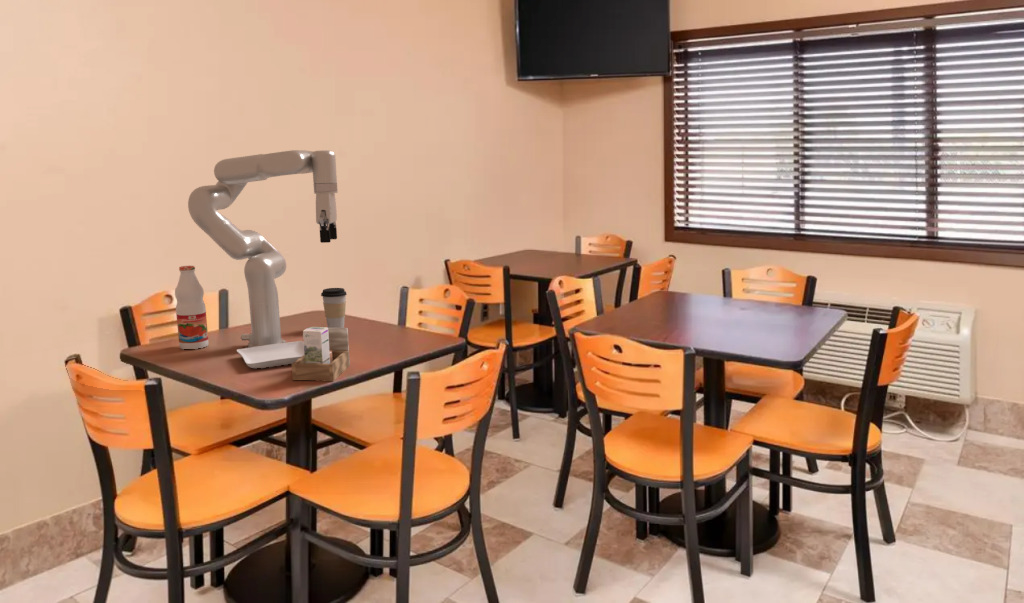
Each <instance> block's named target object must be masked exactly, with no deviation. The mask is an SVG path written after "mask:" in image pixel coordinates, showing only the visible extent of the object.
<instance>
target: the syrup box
mask: <svg viewBox="0 0 1024 603" xmlns="http://www.w3.org/2000/svg"><path fill="white" fill-rule="evenodd" d="M302 338H303V341H302V342H303V343H304V356H305V363H316V364H330V352H329V333H328V326H326V327H325V326H324V327H323V326H322V327H321V326H309V327H307V328H305V329H304V330H302Z"/></svg>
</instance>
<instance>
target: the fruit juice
mask: <svg viewBox="0 0 1024 603" xmlns="http://www.w3.org/2000/svg"><path fill="white" fill-rule="evenodd" d="M178 270H179V273H180V275H179V278H178V282H177V285H176V286H175V289H174V296H175V299H176V305H175V315H176V325H177V326H176V327H177V335H178V347H179V348H180V350H184V349H195V350H199V349H198V348H201V349H204V348H203V347H205V348H207V347H208V346H209V341H210V340H209V333H208V331H209V330H208V320H207V310H206V308H207V307H206V304H205V302H204V294H205V293H204V292H205V291H204V288H203V286H202V285H201V283H200V282H199V280H198V278H197V275H196V273H195V271H196V266H195V265H181V266H179V268H178ZM206 346H207V347H206Z"/></svg>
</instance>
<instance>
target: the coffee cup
mask: <svg viewBox="0 0 1024 603" xmlns="http://www.w3.org/2000/svg"><path fill="white" fill-rule="evenodd" d="M320 296H321V297H322V300H323V302H322V303H323V309H324V316H325V320H326V325H327V326H326V327H328V328H345V316H346V303H347V302H346V296H347V291H346V290H345V288H342V287H329V288H324V289H323V290H322V292H321V293H320Z"/></svg>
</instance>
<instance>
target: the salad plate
mask: <svg viewBox="0 0 1024 603" xmlns="http://www.w3.org/2000/svg"><path fill="white" fill-rule="evenodd" d="M236 352H237V354H239V355H240V357H242V359H243V362H244V363H245V364H246V366H247V367H249V368H252V369H257V368H261V369H267V368H266V367H269V368H274V367H273V366H277V367H282V366H281V365H284V366H289V365H288V364H291V365H292V364H293V363H294V362H295V361H297V360H298V359H299V358H301V357H302V356H303V355H304V341H302V340H296V341H289V342H287V341H286V343H279V344H271V345H264V346H257V347H251V348H249V347H245V348H238V349H236Z"/></svg>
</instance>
